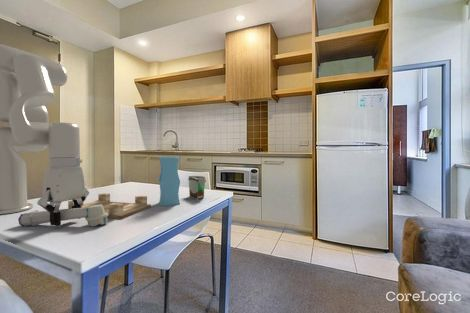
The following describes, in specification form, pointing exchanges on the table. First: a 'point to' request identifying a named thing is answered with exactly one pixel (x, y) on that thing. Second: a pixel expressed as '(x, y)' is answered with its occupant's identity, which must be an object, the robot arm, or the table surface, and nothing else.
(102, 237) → the table surface
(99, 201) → the v block cradle
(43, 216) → the white electric toothbrush
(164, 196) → the vase
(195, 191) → the food container
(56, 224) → the robot arm
